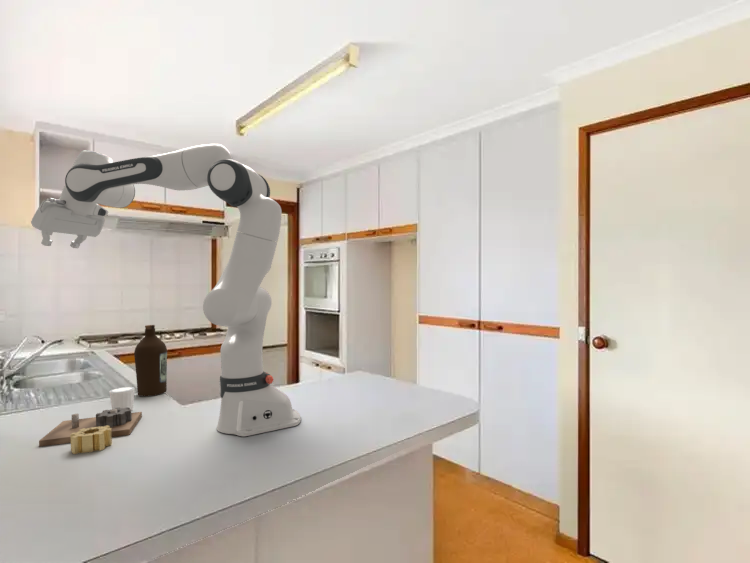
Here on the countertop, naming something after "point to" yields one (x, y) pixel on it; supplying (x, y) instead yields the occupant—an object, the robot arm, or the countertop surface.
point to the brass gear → (91, 439)
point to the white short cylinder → (122, 397)
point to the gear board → (94, 425)
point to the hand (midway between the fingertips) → (60, 246)
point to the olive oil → (151, 364)
